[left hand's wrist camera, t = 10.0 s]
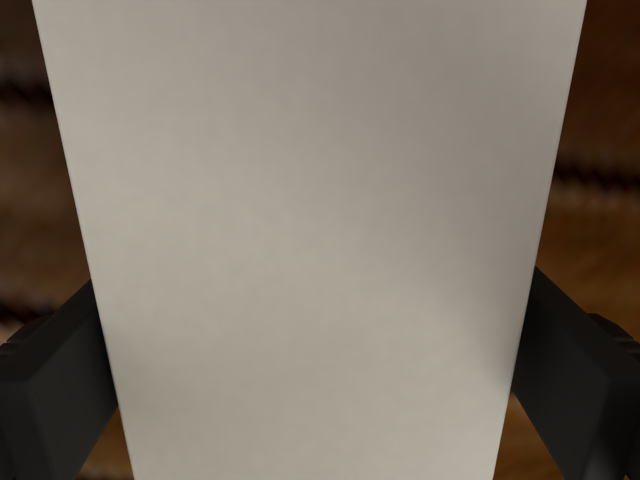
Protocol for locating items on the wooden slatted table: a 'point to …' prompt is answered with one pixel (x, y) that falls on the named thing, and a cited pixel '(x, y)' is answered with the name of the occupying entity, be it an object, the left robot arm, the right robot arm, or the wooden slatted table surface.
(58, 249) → the wooden slatted table surface
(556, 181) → the wooden slatted table surface
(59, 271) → the wooden slatted table surface
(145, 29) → the thick board
